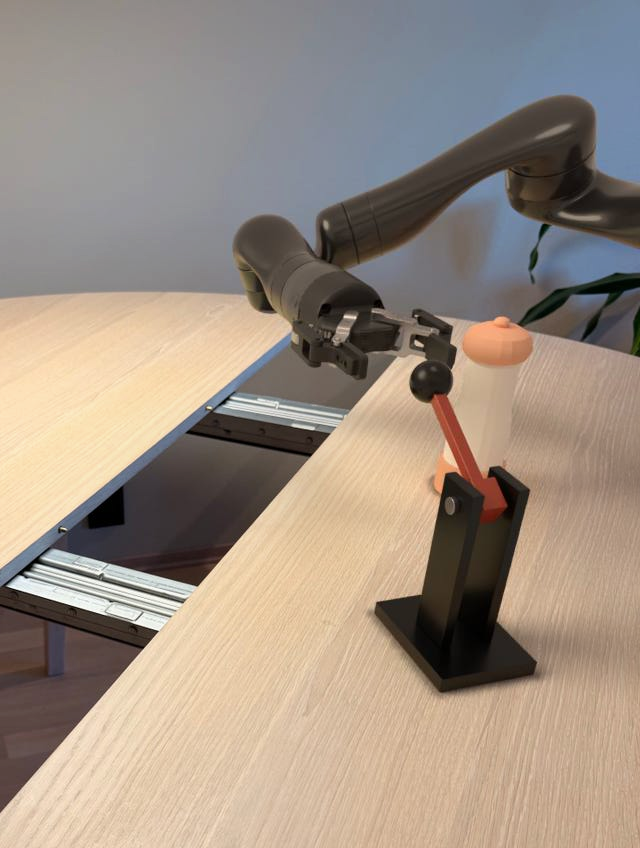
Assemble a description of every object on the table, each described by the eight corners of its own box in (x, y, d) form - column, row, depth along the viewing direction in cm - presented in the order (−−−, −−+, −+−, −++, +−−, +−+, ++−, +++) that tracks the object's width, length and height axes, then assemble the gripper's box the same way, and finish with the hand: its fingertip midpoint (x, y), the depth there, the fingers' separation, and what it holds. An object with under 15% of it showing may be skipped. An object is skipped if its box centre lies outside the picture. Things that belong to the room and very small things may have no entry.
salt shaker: (512, 489, 110) (554, 318, 99) (476, 509, 106) (516, 334, 95) (457, 467, 115) (490, 301, 103) (420, 486, 111) (451, 316, 99)
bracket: (373, 613, 90) (400, 455, 81) (460, 598, 92) (496, 443, 83) (439, 692, 81) (477, 524, 72) (534, 674, 83) (583, 508, 74)
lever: (397, 380, 85) (413, 352, 81) (434, 376, 86) (451, 348, 82) (459, 530, 79) (479, 506, 76) (498, 524, 80) (519, 500, 77)
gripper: (388, 339, 103) (471, 397, 90) (261, 351, 99) (328, 413, 87) (399, 265, 98) (487, 315, 86) (266, 275, 95) (338, 329, 82)
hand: (407, 364), depth 86 cm, fingers open, 8 cm apart
